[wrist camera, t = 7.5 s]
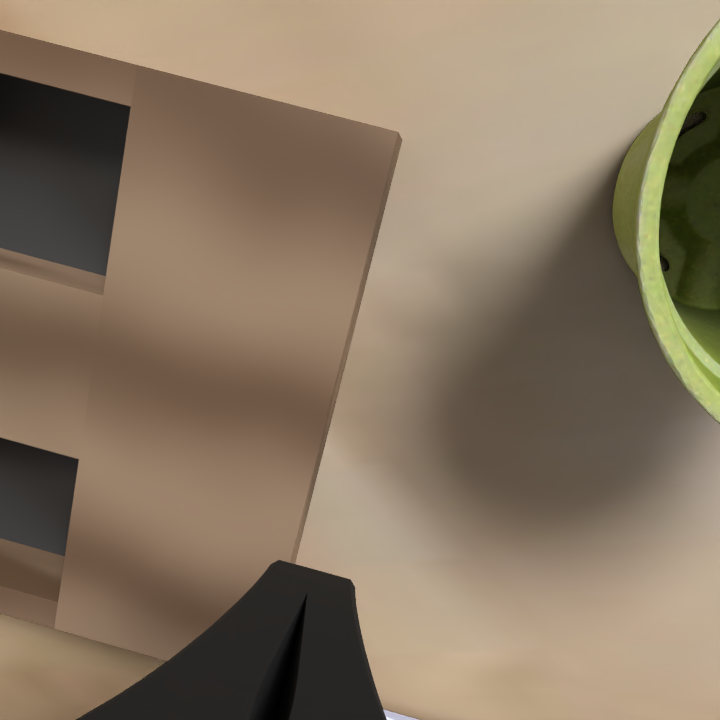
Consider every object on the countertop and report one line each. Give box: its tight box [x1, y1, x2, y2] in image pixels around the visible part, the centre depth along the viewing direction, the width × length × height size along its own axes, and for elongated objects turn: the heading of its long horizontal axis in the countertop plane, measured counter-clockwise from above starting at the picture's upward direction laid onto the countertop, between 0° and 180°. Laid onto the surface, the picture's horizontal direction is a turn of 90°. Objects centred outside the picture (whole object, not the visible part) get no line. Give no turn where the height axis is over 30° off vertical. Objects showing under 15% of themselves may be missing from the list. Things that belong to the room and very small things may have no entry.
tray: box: [0, 30, 402, 661], centre depth 19 cm, size 17×16×4 cm
